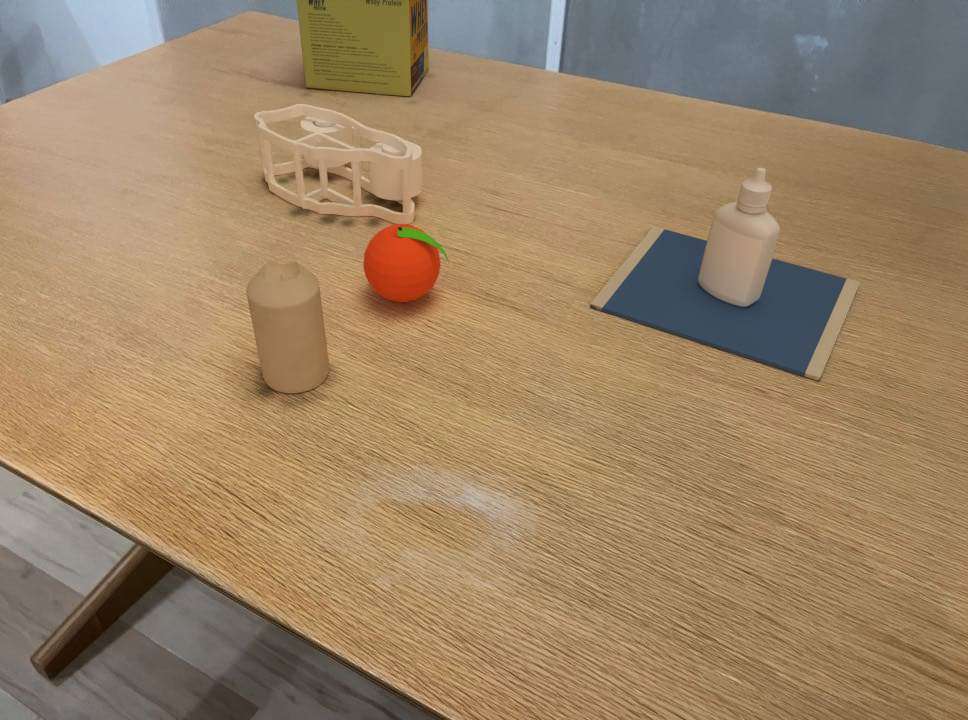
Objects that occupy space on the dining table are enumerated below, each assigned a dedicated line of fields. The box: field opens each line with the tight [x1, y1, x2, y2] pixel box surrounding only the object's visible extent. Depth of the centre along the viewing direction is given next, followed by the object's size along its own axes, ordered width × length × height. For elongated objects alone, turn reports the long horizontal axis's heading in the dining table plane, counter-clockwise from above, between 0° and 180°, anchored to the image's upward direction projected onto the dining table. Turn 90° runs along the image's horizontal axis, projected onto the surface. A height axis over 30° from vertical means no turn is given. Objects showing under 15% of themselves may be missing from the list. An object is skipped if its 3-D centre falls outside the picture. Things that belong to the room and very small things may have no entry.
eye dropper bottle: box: [698, 167, 781, 307], centre depth 71 cm, size 4×6×12 cm
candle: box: [245, 260, 330, 394], centre depth 65 cm, size 6×6×10 cm
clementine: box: [363, 223, 450, 303], centre depth 74 cm, size 8×7×7 cm
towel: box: [589, 225, 861, 382], centre depth 75 cm, size 20×16×1 cm
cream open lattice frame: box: [254, 103, 423, 225], centre depth 88 cm, size 20×11×7 cm, turn 46°
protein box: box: [296, 0, 430, 97], centre depth 111 cm, size 10×15×16 cm
